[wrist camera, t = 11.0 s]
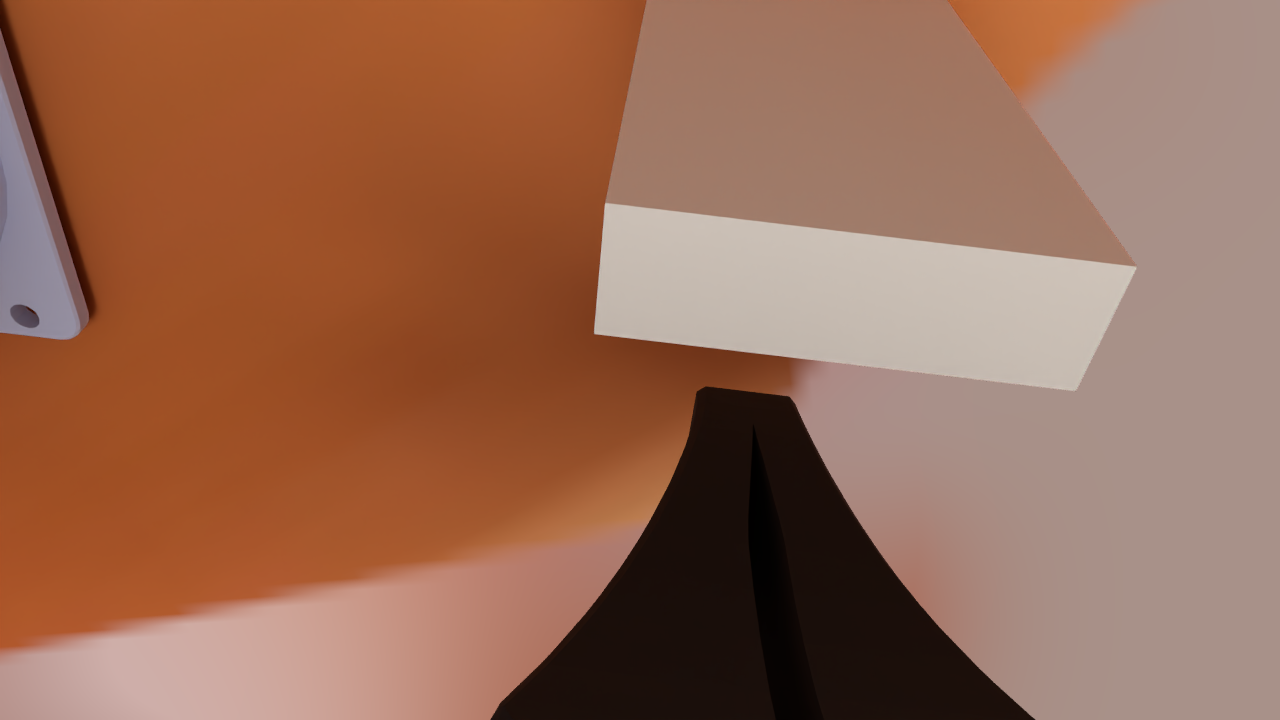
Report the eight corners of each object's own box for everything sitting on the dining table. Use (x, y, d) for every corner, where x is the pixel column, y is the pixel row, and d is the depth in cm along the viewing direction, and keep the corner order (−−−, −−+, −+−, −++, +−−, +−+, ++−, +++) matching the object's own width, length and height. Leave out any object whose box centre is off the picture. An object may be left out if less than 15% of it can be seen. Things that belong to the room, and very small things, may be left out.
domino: (648, 31, 14) (593, 333, 8) (657, -53, 13) (604, 202, 7) (910, 63, 14) (1075, 391, 8) (933, -19, 13) (1138, 267, 7)
